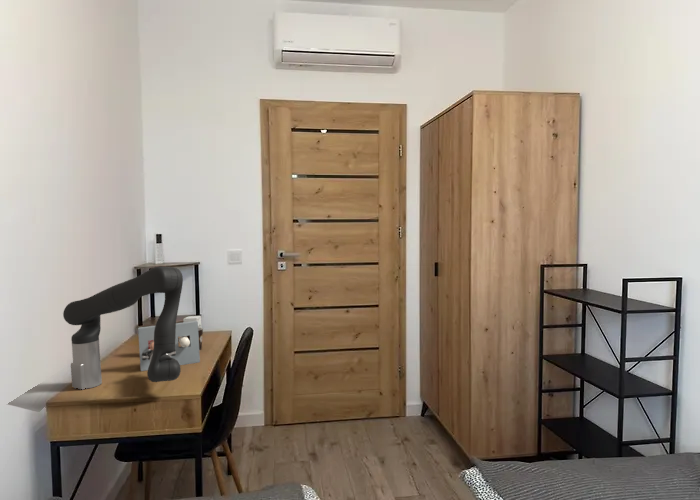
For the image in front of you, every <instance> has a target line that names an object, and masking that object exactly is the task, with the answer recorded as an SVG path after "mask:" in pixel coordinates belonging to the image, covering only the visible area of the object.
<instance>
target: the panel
mask: <svg viewBox="0 0 700 500" xmlns="http://www.w3.org/2000/svg"><path fill="white" fill-rule="evenodd" d="M155 326H156V325H150V326H141V327H138V328H137V331H138V333H137V334H138V335H137V336H138V349H139V351H138V352H139V367H140V368H139V369H140V372H144V371H146V372H147V371H148V368H149V365H150V360H148V359H146V360H142V353H145V352H147V351H149V348H148V341H150V340H154V330H155ZM181 336H189V337H190V345H189V346H188V347H182V346H181V345H180V343H179V338H180V337H181ZM175 350H176V355H175V356H171V358H174V359H176V360H177V361H178V362H179V364H180V366H185V365H191V364H198V363H201V357H200V355H201V354H200V353H201V352H200V350H199V335H198V322H197V321H191V322H176V335H175Z"/></svg>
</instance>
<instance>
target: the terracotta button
mask: <svg viewBox="0 0 700 500" xmlns="http://www.w3.org/2000/svg"><path fill="white" fill-rule="evenodd" d="M153 349H154V341H152V342H151V343H150V350H153Z"/></svg>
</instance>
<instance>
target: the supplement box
mask: <svg viewBox="0 0 700 500" xmlns="http://www.w3.org/2000/svg"><path fill="white" fill-rule="evenodd" d="M182 321H183V322H191V321H197V322H198V328H202V316H201V315H195V316H194V315H192V316H191V315H189V316H186V317H184V318H183V319H182ZM183 322H182V323H183Z"/></svg>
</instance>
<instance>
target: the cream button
mask: <svg viewBox="0 0 700 500" xmlns="http://www.w3.org/2000/svg"><path fill="white" fill-rule="evenodd" d="M178 344H179V346H180V347H181V346H182V347H188V346H189V344H190V341H189V339H188V337H187V336H181V337H178Z"/></svg>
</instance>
